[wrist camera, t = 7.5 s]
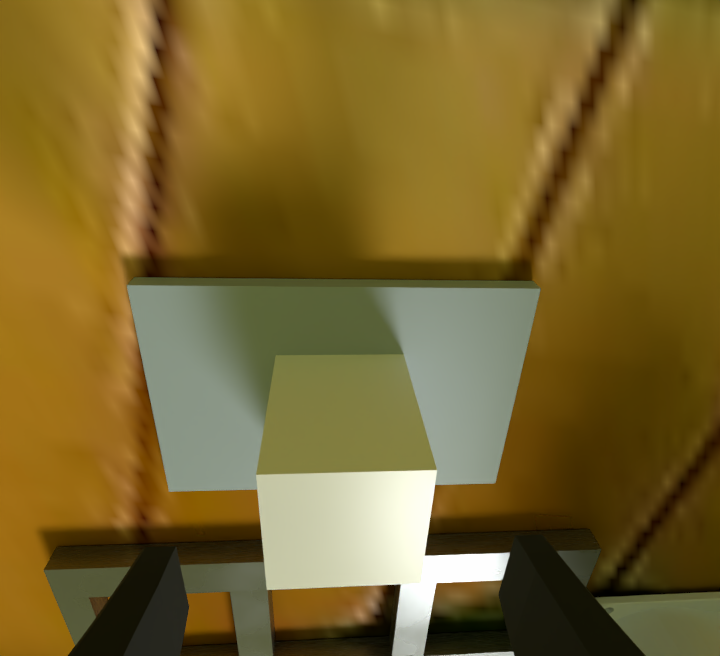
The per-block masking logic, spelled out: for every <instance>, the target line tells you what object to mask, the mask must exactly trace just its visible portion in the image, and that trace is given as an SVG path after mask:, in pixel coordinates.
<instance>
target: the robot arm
mask: <svg viewBox="0 0 720 656" xmlns="http://www.w3.org/2000/svg"><path fill="white" fill-rule="evenodd" d="M499 598H500V602H501V607H502V611H503V615H504V619H505V624H506V627H507V631H508V635H509V639H510V643H511V647H512V650H513V653H514V656H720V592H700V593H678V594H656V595H634V596H613V597H594V596H593V595H592V594H591V593H590V591H589V590H588V589H587V588H586V587H585V585H584V584H583V583H582V582H581V581H580V579H579V578H578V577H577V576H576V575H575V573H574V572H573V571H572V570H571V568H570V567H569V566H568V565H567V564H566V562H565V561H564V560H563V559H562V557H561V556H560V555H559V554H558V553H557V551H556V550H555V549H554V548H553V546H552V545H551V544H550V543H549V542H548V540H547V539H546V538H545V537H544V536H543V535H542V534H538V535H515V537H514V540H513V544H512V548H511V551H510V555H509V558H508V562H507V566H506V569H505V573H504V576H503V580H502V584H501V587H500V591H499ZM188 610H189V605H188V600H187V595H186V590H185V586H184V581H183V576H182V571H181V567H180V562H179V557H178V552H177V547H176V546H160V547H145V548H144V549H143V550H142V551H141V552H140V554H139V555H138V557H137V558H136V560H135V561H134V563H133V564H132V566H131V567H130V569H129V570H128V572H127V573H126V575H125V576H124V578H123V579H122V581H121V582H120V584H119V585H118V587H117V588H116V590H115V591H114V593H113V594H112V595H111V597H110V598H109V600H108V601H107V603H106V604H105V605H104V607H103V608H102V610H101V611H100V613H99V614H98V615H97V617H96V618H95V620H94V621H93V622H92V624H91V625H90V626H89V628H88V629H87V631H86V632H85V633H84V635H83V636H82V637H81V639H80V640H79V641H78V643H77V644H76V645H75V647H74V648H73V649H72V651H71V652H70V654H69V655H68V656H180V653H181V648H182V643H183V638H184V632H185V626H186V621H187V615H188Z"/></svg>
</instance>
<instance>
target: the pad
mask: <svg viewBox="0 0 720 656" xmlns="http://www.w3.org/2000/svg"><path fill="white" fill-rule="evenodd" d="M127 289H128V294H129V298H130V303H131V308H132V313H133V318H134V323H135V328H136V332H137V337H138V342H139V347H140V352H141V357H142V362H143V366H144V371H145V376H146V381H147V386H148V391H149V396H150V401H151V405H152V410H153V415H154V420H155V425H156V430H157V435H158V439H159V444H160V449H161V454H162V459H163V464H164V469H165V474H166V478H167V483H168V488H169V492H171V491H211V490H250V489H257V480H256V472H257V466H258V460H259V454H260V448H261V442H262V436H263V430H264V423H265V417H266V411H267V405H268V399H269V393H270V387H271V381H272V375H273V369H274V363H275V357H276V355H378V354H404V357H405V361H406V364H407V368H408V371H409V374H410V378H411V381H412V385H413V388H414V392H415V395H416V399H417V402H418V406H419V409H420V412H421V416H422V419H423V423H424V426H425V430H426V433H427V437H428V440H429V444H430V447H431V450H432V454H433V457H434V461H435V464H436V468H437V475H436V481H435V485H448V484H488V483H495V482H496V478H497V474H498V469H499V465H500V461H501V456H502V452H503V448H504V444H505V439H506V435H507V431H508V427H509V422H510V418H511V414H512V409H513V405H514V401H515V397H516V392H517V388H518V384H519V380H520V375H521V371H522V367H523V362H524V358H525V354H526V350H527V345H528V341H529V337H530V333H531V328H532V324H533V320H534V315H535V311H536V307H537V303H538V298H539V294H540V290H541V288H540V287H539V286H538V285H537V284H536V283H535V282H534V281H483V280H377V279H270V278H164V277H134V278H133V279H132V280H131V281H130V282H129V283H128V285H127Z"/></svg>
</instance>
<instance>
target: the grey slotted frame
mask: <svg viewBox="0 0 720 656" xmlns="http://www.w3.org/2000/svg"><path fill="white" fill-rule="evenodd" d="M538 534H542V535H543V536H544V537H545V538H546V539H547V540H548V542H549V543H550V544H551V545H552V546H553V548H554V549H555V550H556V551H557V553H558V554H559V555H560V556H561V557H562V559H563V560H564V561H565V562H566V564H567V565H568V566H569V567H570V568H571V570H572V571H573V572H574V573H575V575H576V576H577V577H578V578H579V579H580V581H581V582H582V583H583V584H584V585H585V587H586V586H587V583H588V581H589V579H590V576H591V574H592V571H593V569H594V566H595V564H596V562H597V559H598V557H599V554H600V552H601V548H600V546H599V544H598V543H597V541H596V539H595V537H594V536H593V534H592V532H591V531H590V529H578V530H549V531H519V532H489V533H460V534H430V535H428V536H427V543H426V550H425V556H424V563H423V570H422V577H421V583H410V584H388V585H395V589H394V598H393V606H392V615H391V624H390V633H389V636H381V637H361V638H341V639H322V640H302V641H282V642H276V641H275V628H274V615H273V602H272V590H267V587H266V577H265V566H264V555H263V544H262V540H252V541H222V542H192V543H162V544H133V545H103V546H73V547H56V549H55V551H54V553H53V554H52V556H51V558H50V560H49V562H48V563H47V565H46V567H45V569H44V572H45V575H46V577H47V579H48V582H49V584H50V586H51V589H52V591H53V594H54V596H55V598H56V601H57V603H58V606H59V608H60V610H61V613H62V615H63V617H64V620H65V622H66V625H67V627H68V629H69V632H70V634H71V636H72V639H73V641H74V644H75V645H76V644H77V643H78V641H79V640H80V639H81V637H82V636H83V635H84V633H85V632H86V631H87V629H88V628H89V626H90V625H91V624H92V622H93V621H94V620H95V618H96V617H97V615H98V614H99V613H100V611H101V610H102V608H103V607H104V605H105V604H106V603H107V601H108V599H107V597H111V595H112V594H113V593H114V591H115V590H116V588H117V587H118V585H119V584H120V582H121V581H122V579H123V578H124V576H125V575H126V573H127V572H128V570H129V569H130V567H131V566H132V564H133V563H134V561H135V560H136V558H137V557H138V555H139V554H140V552H141V551H142V550H143V549H144V548H145V547H160V546H176V547H177V552H178V557H179V562H180V567H181V571H182V576H183V581H184V586H185V590H186V593H207V592H230V595H231V602H232V609H233V616H234V623H235V630H236V637H237V644H223V645H203V646H183V647H182V648H181V653H180V656H514V653H513V650H512V647H511V643H510V639H509V635H508V631H507V630H500V631H480V632H460V633H440V634H427V632H428V626H429V621H430V615H431V609H432V604H433V598H434V593H435V587H436V583H446V582H470V581H494V580H503V576H504V573H505V569H506V566H507V562H508V558H509V555H510V551H511V548H512V544H513V540H514V537H515V535H538ZM366 586H374V585H366ZM344 587H351V586H344ZM322 588H327V587H322ZM300 589H303V588H300ZM277 590H279V589H277Z"/></svg>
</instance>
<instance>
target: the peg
mask: <svg viewBox="0 0 720 656" xmlns="http://www.w3.org/2000/svg"><path fill="white" fill-rule="evenodd" d="M436 475H437V468H436V464H435V461H434V457H433V454H432V450H431V447H430V444H429V440H428V437H427V433H426V430H425V426H424V423H423V419H422V416H421V412H420V409H419V406H418V402H417V399H416V395H415V392H414V388H413V385H412V381H411V378H410V374H409V371H408V368H407V364H406V361H405V357H404V354H378V355H276V357H275V363H274V369H273V375H272V381H271V387H270V393H269V399H268V405H267V411H266V417H265V423H264V430H263V436H262V442H261V448H260V454H259V460H258V466H257V472H256V480H257V490H258V501H259V512H260V523H261V534H262V544H263V555H264V566H265V577H266V587H267V590H277V589H300V588H322V587H344V586H366V585H388V584H410V583H421V577H422V570H423V563H424V556H425V550H426V543H427V536H428V529H429V522H430V516H431V509H432V502H433V495H434V488H435V481H436Z"/></svg>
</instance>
